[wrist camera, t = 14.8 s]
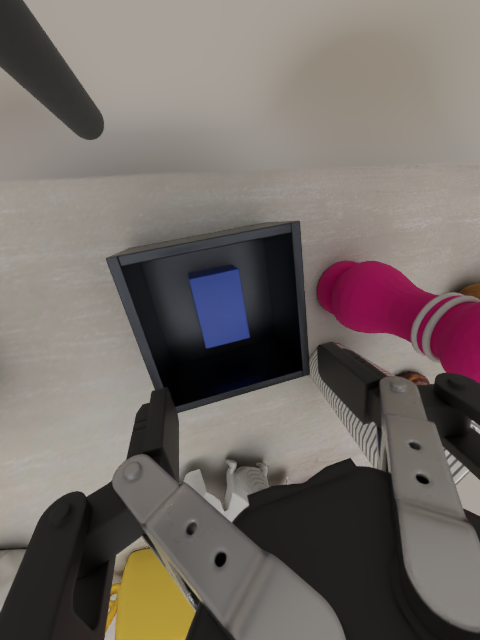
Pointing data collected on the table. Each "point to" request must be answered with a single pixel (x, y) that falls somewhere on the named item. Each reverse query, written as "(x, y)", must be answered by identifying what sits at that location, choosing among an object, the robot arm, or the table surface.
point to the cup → (367, 432)
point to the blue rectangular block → (219, 305)
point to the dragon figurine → (233, 487)
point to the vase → (8, 570)
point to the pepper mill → (405, 313)
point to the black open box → (182, 320)
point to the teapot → (148, 602)
